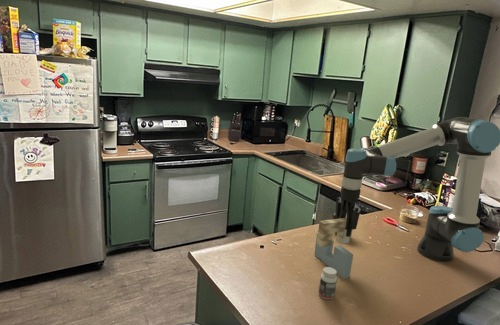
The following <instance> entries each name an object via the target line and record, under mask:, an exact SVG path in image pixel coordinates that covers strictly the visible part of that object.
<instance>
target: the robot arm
mask: <svg viewBox="0 0 500 325" xmlns="http://www.w3.org/2000/svg"><path fill="white" fill-rule="evenodd" d="M450 144H452V145H457V146H456V153H457V155H458V156H459V164H458V169H457V170H458V171H457V177H456V183H455V191H454V197H453V205H452V207H450V206H444V205H433V206H431V207H430V208H429V211H428V216H427V220H426V226H425V229H424V235H423V236H422V238H421V239H420V241H419V243H417V247H416V248H417V252H418V253H420V255H421V256H424V257H426V258H428V259H430V260H432V261H433V260H434V261H438V262H451V261H453V260H454V256H455V252H454V249H457V250H458V251H460V252H462V253H463V252H464V253H470V252H473V251H475V250H476V249H478V248H480V247H481V246H482V245H483V243H484V239H485V234H484V232H483V231H482V230H481V229H480V222H481V219H480V218H479V217H478V216H477V213H478V207H479V202H480V197H481V196H480V194H481V189H482V185H483V184H482V183H483V177H484V170H485V165H486V164H485V163H486V159H488V158H489V157H491V156H492V152H493V151H495V150H496V148H497V147H499V145H500V127H498V125H496V124H495V123H494V122H492V121H489V120H486V119H481V118H474V117H468V116H458V117H454V118H450V119H447V120H444V121H441V122H438V123H434V124H433V125H431V127H430V128H428V129H425V130H422V131H418V132H415V133H413V134H410V135H407V136H404V137H401V138H397V139H394V140H393V141H388V142H386V143H383V144H380V145H377V146H373V147H371V148H368V147H362V148H349V149H347V152H346V156H345V159H344V166H343V167H344V170H343V175H342V181H341V187H340V197H336V198H335V202H336V204H335V213H336V214H335V219H340V218H345V217H346V214H347V223H346V228H345V229H344V235H343V242H342V243H343V244H350V243H349V238H350V236H351V231H352V232H353V230H357V226H358V222H359V219H360V218H359V217H360V214H361V212H362V210H363V208H362V207H360V206H359V205H358V200H359V199H360V195H361V188H362V183H363V179H364V175H373V176H383V177H385V176H389V177H390V176H393V175H394V174H395V173H396V170H397V161H396V159H399V158H402V157H404V156H407V155H410V154H414V153H415V152H419V151H423V150H425V149H428V148H432V147H435V146H440V147H441V146H446V145H450ZM338 217H339V218H338ZM351 237H352V236H351ZM343 244H342V245H343Z"/></svg>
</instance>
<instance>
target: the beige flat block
mask: <svg viewBox="0 0 500 325" xmlns="http://www.w3.org/2000/svg"><path fill="white" fill-rule="evenodd" d="M318 223H319V224H318V229H317V231H318V232H317V234H318V236H317V235H316V238H317V243H316V242H315V245H316V244H318V245H319V246H320V247H325V246H331V245H332V240H333V238H334V234H335V233H337V234H336V237H335V242H337V243H338V244H339V245H343V243H342V242H343V235H344V229H345V228H346V223H347V218H340V219H333V218H331V219H324V220H319V222H318ZM352 234H353V230H352V231H351V236H350V238H349V243H348V244H350V243H351V240H352V236H353V235H352Z"/></svg>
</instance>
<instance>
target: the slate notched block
mask: <svg viewBox="0 0 500 325" xmlns="http://www.w3.org/2000/svg"><path fill="white" fill-rule="evenodd" d="M317 236H318V233H316V239H315V247H314V248H315V249H314V254H313V255H314V256H315V257H317V258H318V259H319V260H321V262H323V263H324V264H325V265H326V266H327V267H331V268H334V269H335V270H336V271H337V274H336V275H338V276H339V277H341V278H342V279H343V280H345V279H348V278H349V279H350V278H351V273H352V272H351V271H352V266H353V265H352V264H353V258H354V253H352V252H350V250H348V249H346V248H345V247H344V246H342V244H339V245H336V246H334V240H333V239H332V245H331V246H325V247H320V246H319V245H318V244H316V243H317Z"/></svg>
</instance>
